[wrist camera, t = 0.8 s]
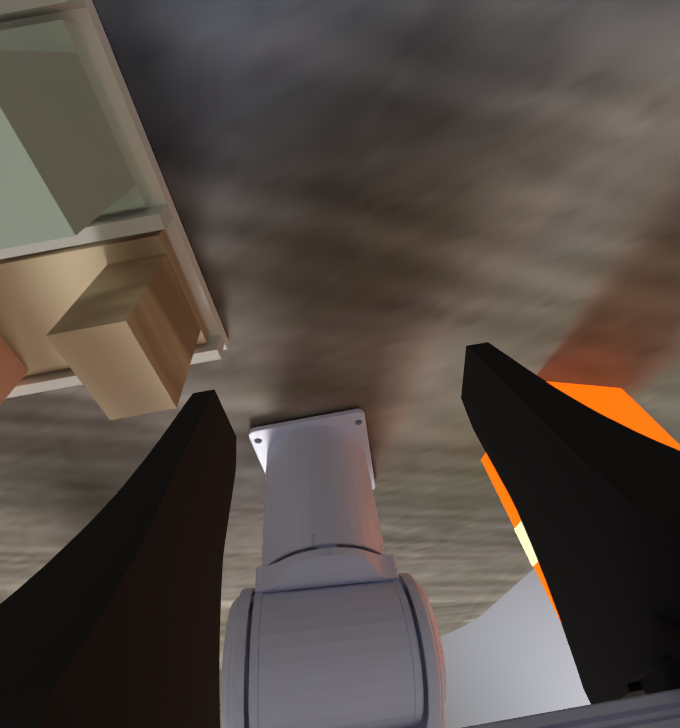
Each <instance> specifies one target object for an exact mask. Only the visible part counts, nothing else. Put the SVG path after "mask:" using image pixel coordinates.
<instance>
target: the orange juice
mask: <svg viewBox="0 0 680 728" xmlns="http://www.w3.org/2000/svg"><path fill="white" fill-rule="evenodd" d="M546 382H547V381H546ZM547 383H549V384H551V385H552V386H554V387H555V388H557V389H559V390H560V391H562V392H564V393H565V394H567V395H568V396H570V397H572V398H574V399H575V400H577V401H579V402H581V403H582V404H584V405H586V406H588V407H589V408H591V409H593V410H595V411H597V412H598V413H600V414H602V415H604V416H606V417H608V418H610V419H612V420H614V421H616V422H618V423H620V424H622V425H624V426H626V427H628V428H630V429H632V430H634V431H636V432H638V433H640V434H643V435H645V436H647V437H649V438H651V439H654V440H656V441H658V442H661V443H663V444H665V445H668V446H670V447H672V448H675V449H677V450H680V445H679V444H678V443H677V442H676V441H675V440H674V439H673V438H672V437H671V436H670V435H669V434H668V433H667V432H666V431H665V430H664V429H663V428H662V427H661V426H660V425H659V424H658V423H657V422H655V421H654V420H653V419H652V418H651V417H650V416H649V415H648V414H647V413H646V412H645V411H644V410H643V409H642V408H641V407H640V406H639V405H638V404H637V403H636V402H635V401H634V400H633V399H632V398H631V397H630V396H629V395H628V394H627V393H626V392H625V391H624V390H623V389H622V388H614V387H603V386H592V385H581V384H569V383H558V382H547ZM481 461H482V463H483V465H484V467H485V469H486V471H487V473H488V475H489V477H490V479H491V481H492V483H493V485H494V487H495V489H496V491H497V493H498V495H499V497H500V499H501V502H502V504H503V506H504V508H505V510H506V512H507V514H508V516H509V518H510V520H511V522H512V524H513V526H514V528H515V529H514V530H515V532H516V534H517V536H518V538H519V540H520V542H521V544H522V546H523V548H524V550H525V552H526V554H527V556H528V558H529V560H530V562H531V565H532V566H533V567H534V569H535V571H536V573H537V575H538V577H539V579H540V581H541V583H542V585H543V587H544V589H545V591H546V593H547V595H548V597H549V599H550V601H551V603H552V605H553V607H554V609H555V611H556V613H557V615H558V612H557V610H556V607H555V604H554V602H553V599H552V596H551V594H550V591H549V588H548V586H547V583H546V580H545V578H544V575H543V573H542V570H541V568H540V565H539V563H538V560H537V558H536V555H535V553H534V550H533V548H532V545H531V543H530V540H529V538H528V536H527V533H526V531H525V528H524V526H523V524H522V521H521V519H520V517H519V514H518V512H517V510H516V508H515V506H514V504H513V502H512V500H511V498H510V496H509V494H508V492H507V490H506V488H505V486H504V484H503V483H502V481H501V479H500V477H499V475H498V474H497V472H496V470H495V468H494V466H493V464H492V463H491V461H490V459H489V457H488V455H487V454H486V453H485V454H484V456H483V458H482V459H481ZM558 617H559V615H558ZM559 620H560V618H559ZM560 621H561V620H560Z"/></svg>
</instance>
